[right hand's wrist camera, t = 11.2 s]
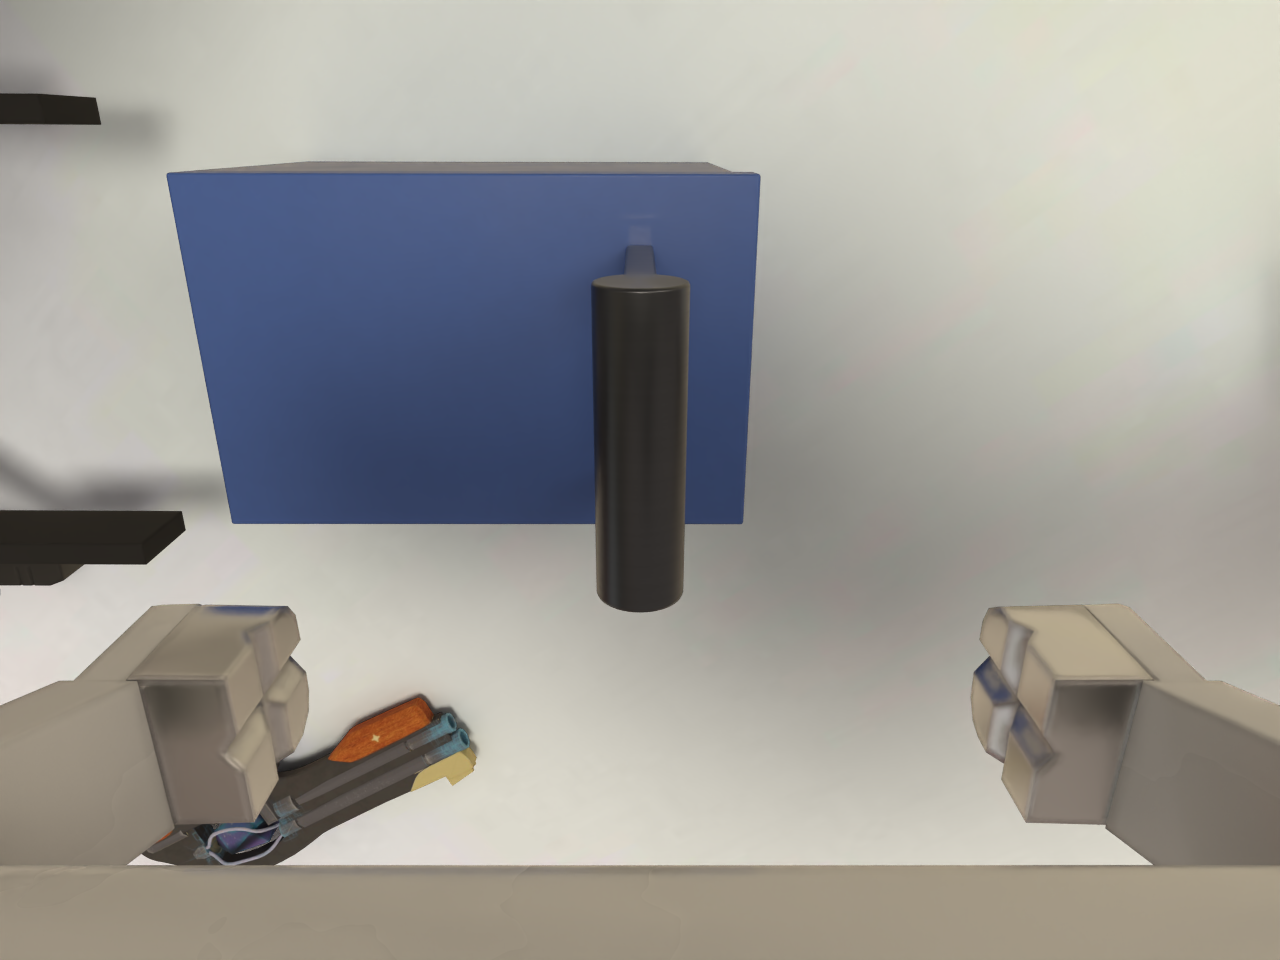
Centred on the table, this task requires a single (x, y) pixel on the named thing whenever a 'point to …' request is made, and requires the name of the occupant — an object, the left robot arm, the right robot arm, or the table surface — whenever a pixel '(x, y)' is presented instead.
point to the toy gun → (332, 789)
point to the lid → (480, 351)
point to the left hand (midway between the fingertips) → (123, 343)
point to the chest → (488, 167)
